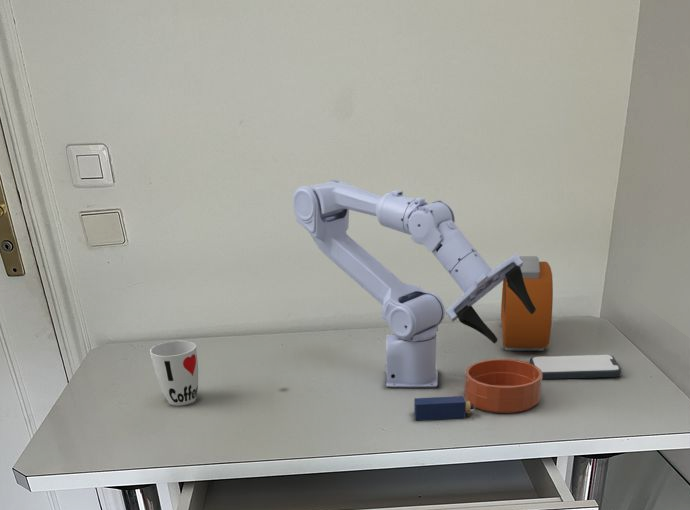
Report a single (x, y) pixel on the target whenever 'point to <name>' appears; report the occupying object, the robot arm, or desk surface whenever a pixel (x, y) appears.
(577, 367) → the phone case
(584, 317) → the desk surface
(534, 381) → the bowl
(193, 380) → the cup
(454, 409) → the pencil
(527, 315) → the alarm clock
